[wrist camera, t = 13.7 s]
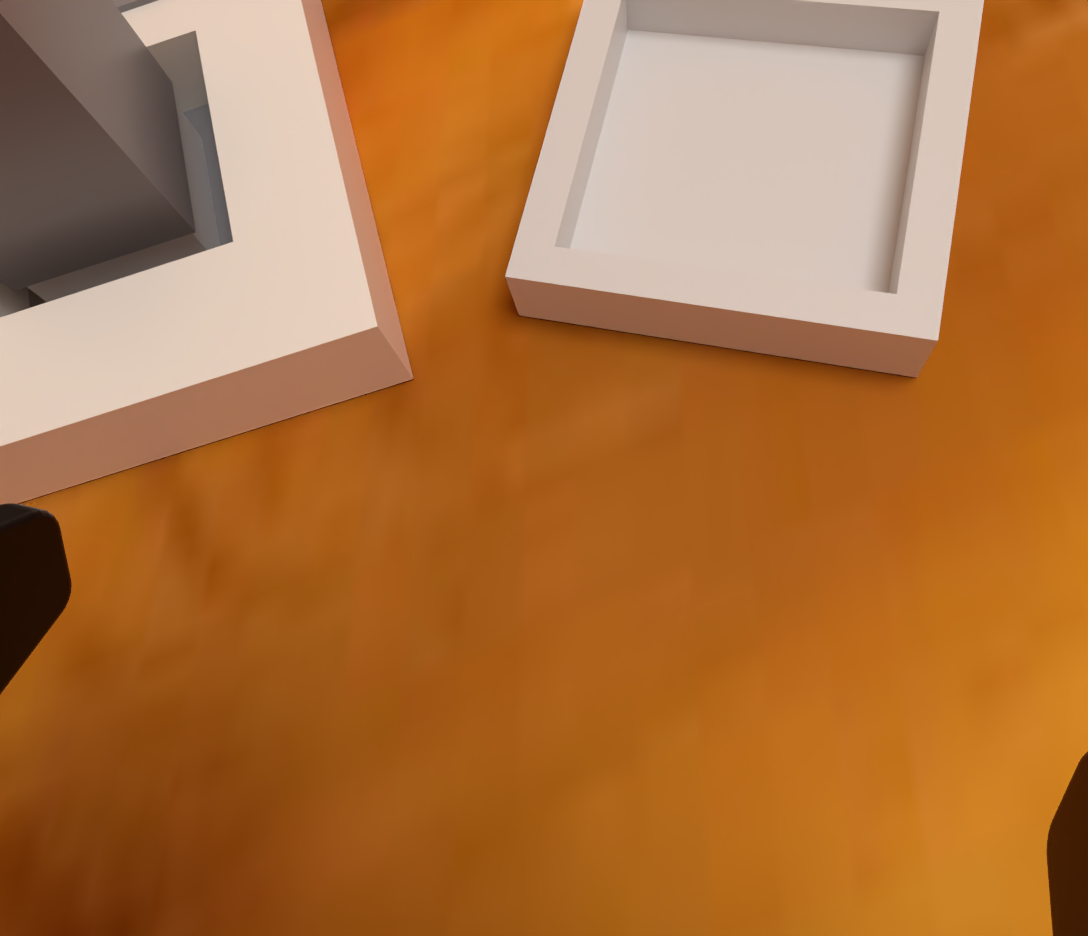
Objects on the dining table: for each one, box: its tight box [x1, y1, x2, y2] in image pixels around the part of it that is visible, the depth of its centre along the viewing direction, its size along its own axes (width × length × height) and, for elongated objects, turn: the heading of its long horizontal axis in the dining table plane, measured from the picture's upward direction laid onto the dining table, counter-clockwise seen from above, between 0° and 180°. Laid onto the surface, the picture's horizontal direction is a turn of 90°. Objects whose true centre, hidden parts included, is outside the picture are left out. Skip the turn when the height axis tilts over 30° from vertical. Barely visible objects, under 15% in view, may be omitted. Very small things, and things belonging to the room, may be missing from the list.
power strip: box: [0, 0, 413, 505], centre depth 27 cm, size 22×13×4 cm, turn 15°
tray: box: [505, 0, 984, 378], centre depth 24 cm, size 10×10×2 cm
